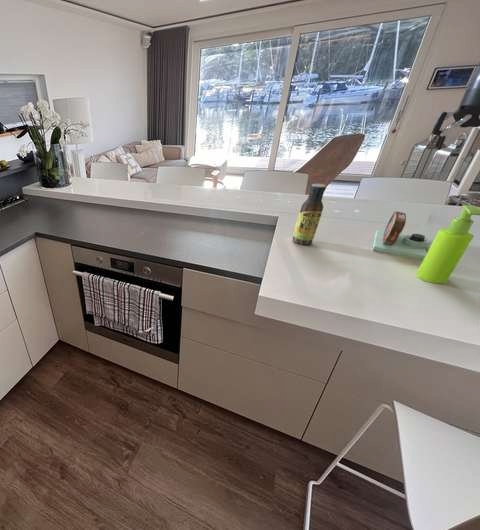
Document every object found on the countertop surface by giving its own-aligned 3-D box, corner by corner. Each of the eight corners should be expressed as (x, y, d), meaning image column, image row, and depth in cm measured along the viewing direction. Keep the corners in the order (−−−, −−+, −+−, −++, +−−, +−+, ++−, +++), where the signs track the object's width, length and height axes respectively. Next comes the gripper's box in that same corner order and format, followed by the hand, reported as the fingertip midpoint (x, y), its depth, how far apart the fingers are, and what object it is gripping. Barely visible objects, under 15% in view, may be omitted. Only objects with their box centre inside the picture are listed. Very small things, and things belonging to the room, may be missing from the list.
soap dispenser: (419, 282, 76) (458, 210, 65) (413, 269, 80) (449, 201, 70) (450, 287, 73) (496, 213, 63) (443, 274, 78) (484, 203, 68)
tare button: (422, 239, 89) (425, 235, 89) (423, 243, 88) (425, 238, 87) (409, 237, 91) (411, 233, 90) (409, 241, 89) (412, 236, 89)
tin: (384, 230, 99) (393, 207, 95) (396, 232, 97) (406, 208, 93) (381, 247, 90) (392, 222, 86) (394, 249, 88) (406, 224, 84)
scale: (424, 240, 94) (428, 232, 93) (426, 260, 84) (431, 251, 82) (375, 232, 101) (379, 224, 100) (372, 250, 91) (376, 242, 90)
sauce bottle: (293, 245, 98) (308, 187, 88) (289, 237, 103) (303, 182, 93) (315, 246, 96) (332, 187, 86) (310, 238, 101) (326, 182, 91)
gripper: (526, 81, 75) (492, 147, 83) (448, 88, 83) (424, 147, 91) (535, 82, 70) (498, 152, 78) (451, 89, 78) (425, 151, 87)
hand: (458, 149), depth 85 cm, fingers open, 8 cm apart
